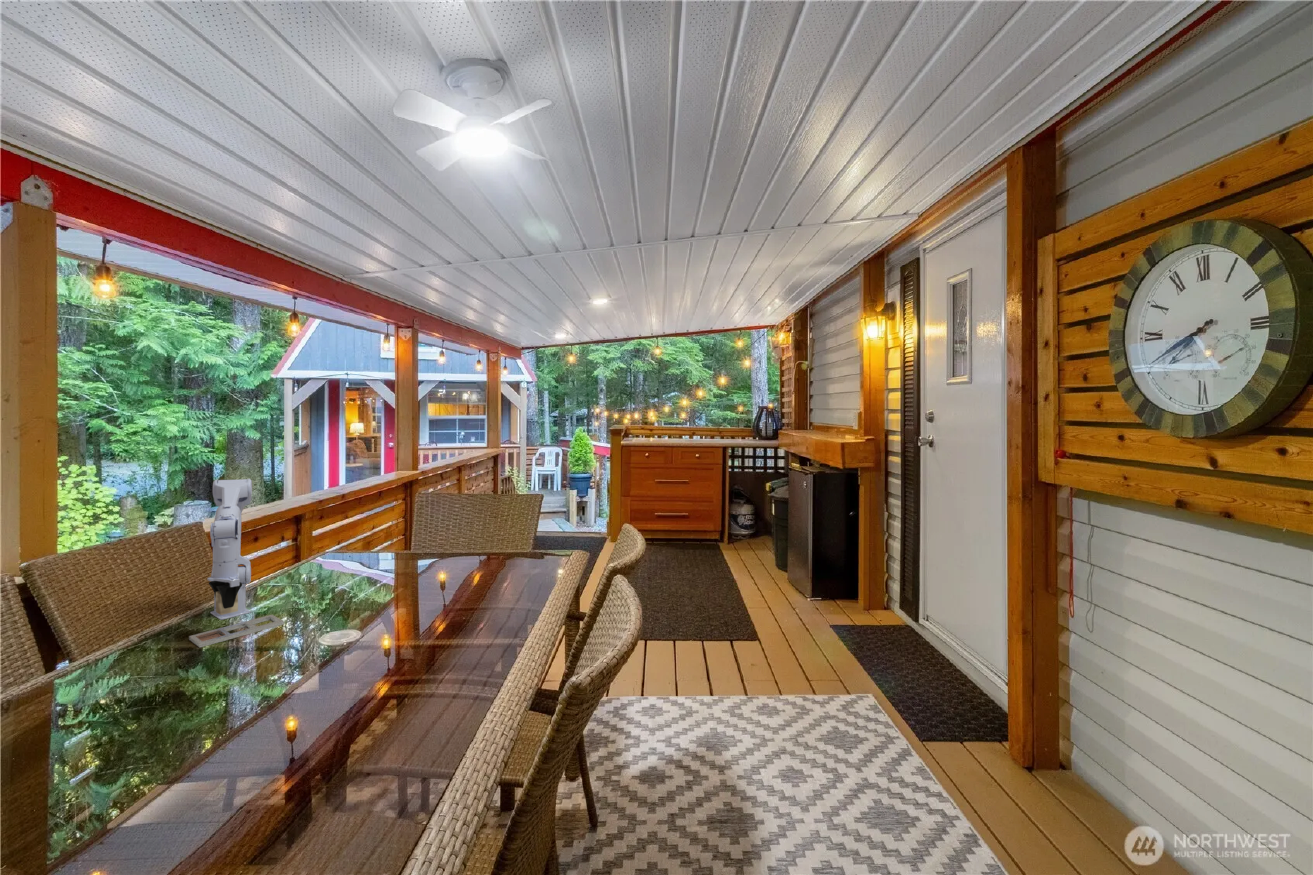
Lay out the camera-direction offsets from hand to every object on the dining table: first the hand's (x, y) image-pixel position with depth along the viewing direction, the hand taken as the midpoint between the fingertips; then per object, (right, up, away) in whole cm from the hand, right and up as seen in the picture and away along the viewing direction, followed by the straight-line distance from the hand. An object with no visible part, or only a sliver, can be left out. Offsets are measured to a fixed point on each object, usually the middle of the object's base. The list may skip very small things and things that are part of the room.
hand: (225, 605), depth 152 cm
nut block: (0, -2, 0) cm, 2 cm away
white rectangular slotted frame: (+1, -9, +3) cm, 9 cm away
